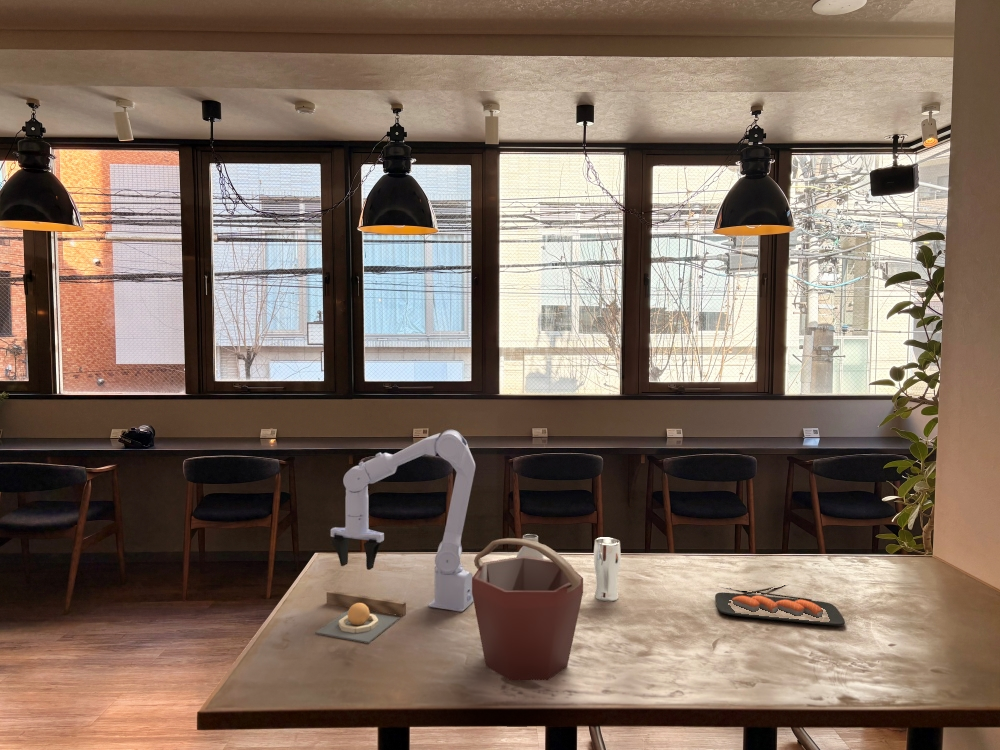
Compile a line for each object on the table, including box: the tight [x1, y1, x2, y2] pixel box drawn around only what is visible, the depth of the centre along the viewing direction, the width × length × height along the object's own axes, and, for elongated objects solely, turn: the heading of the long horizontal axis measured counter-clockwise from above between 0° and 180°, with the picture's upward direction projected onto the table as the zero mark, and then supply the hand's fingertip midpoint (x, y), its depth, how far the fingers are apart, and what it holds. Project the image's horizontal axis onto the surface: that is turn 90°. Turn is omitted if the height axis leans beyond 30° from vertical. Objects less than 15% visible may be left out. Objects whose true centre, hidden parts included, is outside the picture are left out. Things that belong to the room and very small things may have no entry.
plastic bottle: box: [516, 533, 544, 559], centre depth 158 cm, size 6×7×20 cm
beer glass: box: [593, 537, 621, 602], centre depth 172 cm, size 7×7×15 cm
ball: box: [347, 603, 371, 626], centre depth 153 cm, size 5×5×5 cm
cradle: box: [315, 609, 401, 644], centre depth 153 cm, size 14×14×1 cm
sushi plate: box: [714, 586, 846, 627], centre depth 171 cm, size 29×30×4 cm
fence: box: [326, 590, 407, 617], centre depth 163 cm, size 22×1×3 cm, turn 70°
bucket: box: [472, 537, 584, 681], centre depth 136 cm, size 24×22×25 cm
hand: (357, 566), depth 167 cm, fingers open, 7 cm apart
